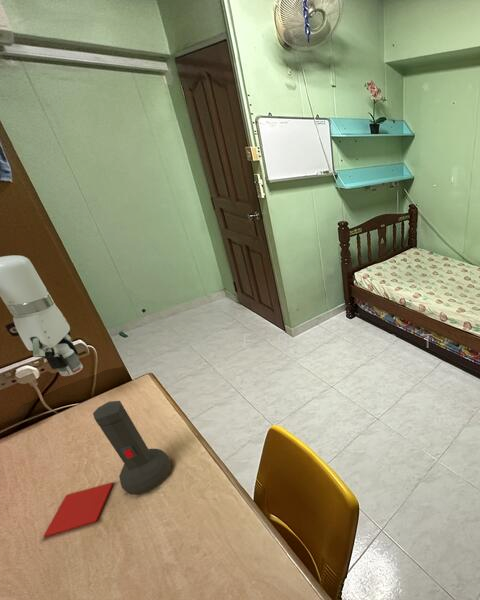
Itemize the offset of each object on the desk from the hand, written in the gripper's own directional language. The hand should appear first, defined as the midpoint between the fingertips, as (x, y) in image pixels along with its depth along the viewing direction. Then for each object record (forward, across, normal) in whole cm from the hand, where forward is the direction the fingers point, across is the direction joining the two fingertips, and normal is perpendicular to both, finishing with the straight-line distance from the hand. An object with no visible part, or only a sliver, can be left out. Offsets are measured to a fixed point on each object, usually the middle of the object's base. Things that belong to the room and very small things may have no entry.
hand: (65, 360), depth 87 cm
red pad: (+19, +34, +10) cm, 40 cm away
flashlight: (+19, +30, +22) cm, 42 cm away
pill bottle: (+4, 0, 0) cm, 4 cm away
